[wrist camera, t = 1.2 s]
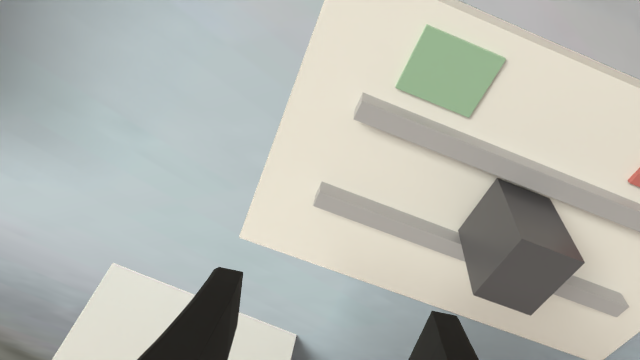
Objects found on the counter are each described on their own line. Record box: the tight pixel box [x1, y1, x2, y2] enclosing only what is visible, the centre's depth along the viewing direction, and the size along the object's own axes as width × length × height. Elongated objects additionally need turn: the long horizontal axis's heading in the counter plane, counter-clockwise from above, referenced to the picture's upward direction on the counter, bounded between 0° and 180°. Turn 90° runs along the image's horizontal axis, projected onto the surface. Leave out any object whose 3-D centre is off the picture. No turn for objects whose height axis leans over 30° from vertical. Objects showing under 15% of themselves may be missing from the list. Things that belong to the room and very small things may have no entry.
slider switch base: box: [239, 0, 640, 360], centre depth 19 cm, size 20×13×3 cm, turn 69°
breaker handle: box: [458, 178, 585, 316], centre depth 17 cm, size 2×3×4 cm
